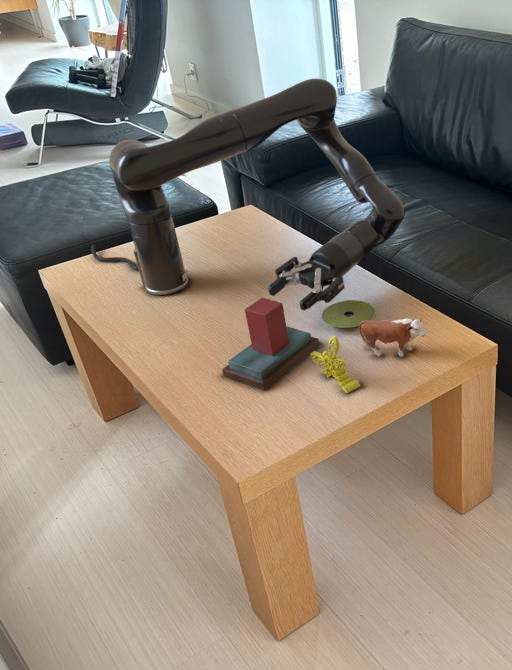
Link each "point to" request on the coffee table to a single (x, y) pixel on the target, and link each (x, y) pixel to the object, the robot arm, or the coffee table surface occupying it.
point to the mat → (348, 313)
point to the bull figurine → (391, 333)
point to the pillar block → (267, 326)
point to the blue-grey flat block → (270, 360)
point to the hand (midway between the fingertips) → (285, 299)
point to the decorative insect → (331, 368)
